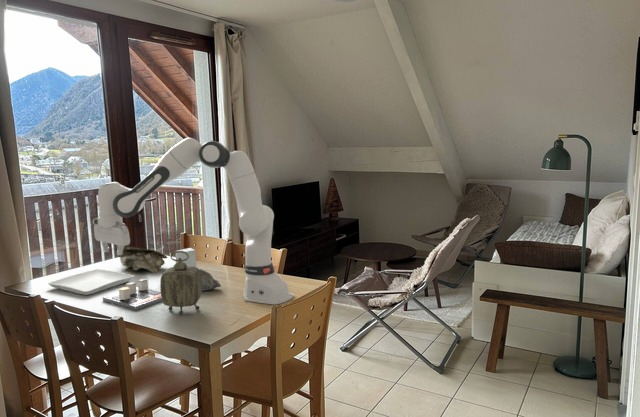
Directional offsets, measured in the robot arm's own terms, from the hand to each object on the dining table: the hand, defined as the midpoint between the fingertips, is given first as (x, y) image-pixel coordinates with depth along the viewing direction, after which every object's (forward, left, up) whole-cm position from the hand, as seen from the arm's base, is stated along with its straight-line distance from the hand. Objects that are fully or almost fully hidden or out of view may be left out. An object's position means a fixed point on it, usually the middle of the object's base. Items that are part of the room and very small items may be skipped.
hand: (113, 253), depth 204 cm
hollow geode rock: (+34, -39, -21) cm, 56 cm away
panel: (-7, -5, -21) cm, 22 cm away
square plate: (+29, -7, -21) cm, 37 cm away
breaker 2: (-3, -11, -18) cm, 22 cm away
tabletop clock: (-36, -5, -21) cm, 42 cm away
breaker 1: (-3, -5, -18) cm, 19 cm away
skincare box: (-2, -37, -21) cm, 43 cm away
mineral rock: (-22, -29, -21) cm, 42 cm away
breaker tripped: (-7, +1, -18) cm, 20 cm away
